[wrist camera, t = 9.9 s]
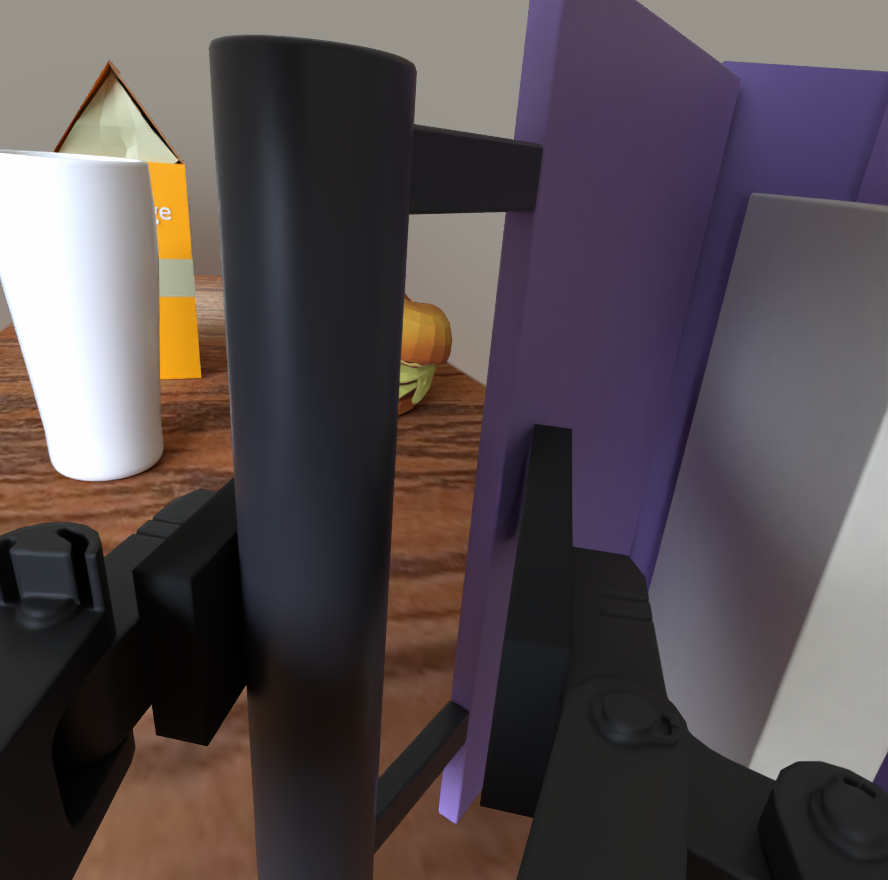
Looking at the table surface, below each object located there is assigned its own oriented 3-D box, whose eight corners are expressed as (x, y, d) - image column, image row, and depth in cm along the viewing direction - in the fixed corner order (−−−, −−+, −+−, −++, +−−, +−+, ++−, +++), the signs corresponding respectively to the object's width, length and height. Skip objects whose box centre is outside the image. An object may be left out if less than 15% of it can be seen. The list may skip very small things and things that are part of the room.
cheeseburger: (291, 371, 50) (323, 245, 46) (421, 411, 51) (462, 292, 48) (260, 417, 40) (297, 264, 37) (421, 464, 42) (472, 321, 38)
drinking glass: (9, 492, 30) (-67, 147, 24) (69, 435, 36) (20, 149, 30) (158, 494, 31) (121, 163, 25) (192, 438, 37) (168, 161, 31)
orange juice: (199, 345, 54) (179, 79, 46) (203, 378, 47) (179, 67, 39) (96, 347, 52) (56, 64, 44) (83, 382, 44) (31, 50, 36)
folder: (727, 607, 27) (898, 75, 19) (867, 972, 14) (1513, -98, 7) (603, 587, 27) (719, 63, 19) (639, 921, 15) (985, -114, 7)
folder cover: (636, 607, 25) (768, 77, 18) (316, 1086, 12) (315, -324, 4) (589, 587, 26) (696, 77, 19) (244, 1005, 13) (139, -251, 5)
